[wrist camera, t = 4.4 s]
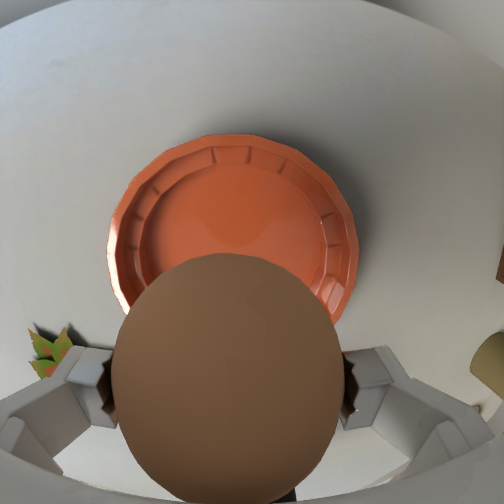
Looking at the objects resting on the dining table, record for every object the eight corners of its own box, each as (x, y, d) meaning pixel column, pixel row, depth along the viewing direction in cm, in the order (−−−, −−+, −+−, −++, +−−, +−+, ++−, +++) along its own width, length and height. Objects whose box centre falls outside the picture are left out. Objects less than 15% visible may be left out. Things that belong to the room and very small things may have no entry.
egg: (138, 337, 12) (74, 501, 4) (176, 199, 10) (38, 333, 3) (272, 378, 13) (295, 541, 5) (337, 259, 11) (460, 424, 4)
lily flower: (43, 397, 24) (27, 424, 19) (16, 306, 20) (-12, 332, 16) (140, 427, 25) (131, 461, 21) (131, 337, 21) (112, 375, 17)
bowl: (120, 145, 17) (96, 144, 13) (345, 142, 17) (368, 141, 14) (143, 339, 21) (130, 367, 18) (327, 337, 22) (340, 365, 19)
